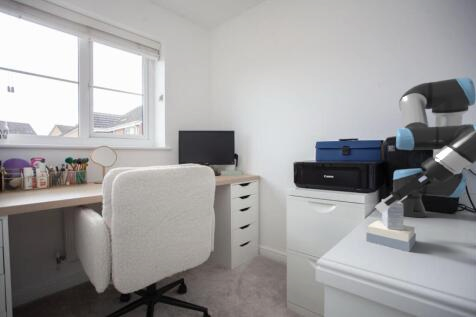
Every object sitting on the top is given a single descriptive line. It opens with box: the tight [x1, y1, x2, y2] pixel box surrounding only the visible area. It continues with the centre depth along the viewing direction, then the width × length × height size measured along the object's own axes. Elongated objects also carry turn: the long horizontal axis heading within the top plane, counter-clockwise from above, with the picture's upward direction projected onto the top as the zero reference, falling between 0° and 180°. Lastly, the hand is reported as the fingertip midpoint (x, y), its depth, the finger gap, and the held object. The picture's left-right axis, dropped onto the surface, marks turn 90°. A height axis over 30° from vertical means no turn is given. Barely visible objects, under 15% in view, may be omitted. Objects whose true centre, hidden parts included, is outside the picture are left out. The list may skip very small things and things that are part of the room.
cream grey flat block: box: [365, 220, 417, 252], centre depth 74 cm, size 12×12×5 cm
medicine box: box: [381, 198, 404, 231], centre depth 74 cm, size 8×4×9 cm, turn 159°
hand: (383, 207), depth 76 cm, fingers open, 13 cm apart
